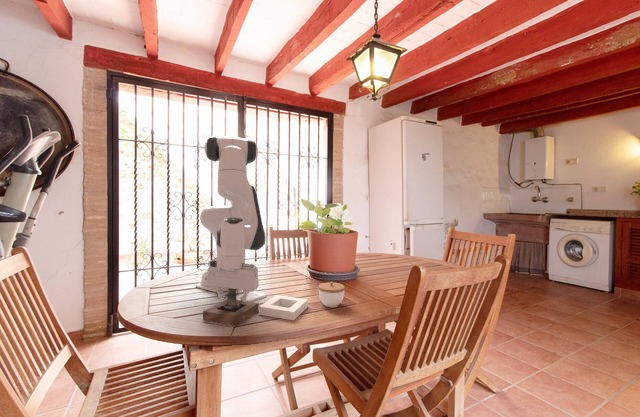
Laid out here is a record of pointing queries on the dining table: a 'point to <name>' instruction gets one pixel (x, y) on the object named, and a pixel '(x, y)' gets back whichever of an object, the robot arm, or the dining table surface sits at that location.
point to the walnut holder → (227, 317)
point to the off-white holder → (275, 309)
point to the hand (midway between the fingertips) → (232, 300)
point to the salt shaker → (232, 301)
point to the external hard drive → (252, 296)
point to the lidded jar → (331, 294)
